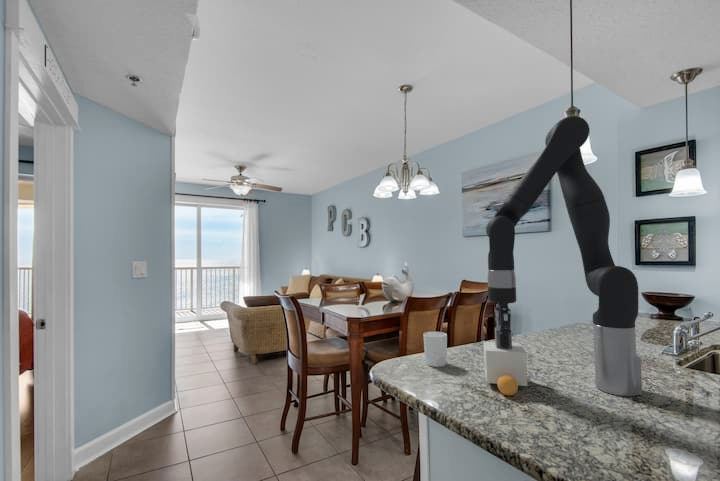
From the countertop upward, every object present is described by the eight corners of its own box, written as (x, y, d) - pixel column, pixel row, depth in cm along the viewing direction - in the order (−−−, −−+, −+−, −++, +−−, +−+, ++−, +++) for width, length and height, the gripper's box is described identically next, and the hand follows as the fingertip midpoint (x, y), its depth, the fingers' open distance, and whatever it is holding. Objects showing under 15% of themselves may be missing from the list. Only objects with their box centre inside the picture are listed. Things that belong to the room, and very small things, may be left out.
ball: (516, 371, 90) (518, 389, 86) (517, 382, 92) (519, 400, 89) (496, 370, 91) (497, 388, 88) (497, 380, 94) (498, 398, 90)
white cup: (448, 368, 111) (447, 337, 112) (423, 367, 113) (423, 336, 113) (447, 360, 119) (446, 331, 120) (424, 359, 121) (423, 331, 121)
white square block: (520, 373, 102) (519, 326, 102) (527, 386, 92) (525, 334, 92) (484, 370, 104) (482, 324, 105) (487, 382, 95) (485, 332, 95)
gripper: (520, 288, 91) (522, 353, 91) (512, 283, 105) (514, 340, 104) (490, 287, 93) (492, 351, 93) (485, 283, 107) (487, 338, 106)
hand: (503, 345), depth 98 cm, fingers closed on white square block, 4 cm apart
